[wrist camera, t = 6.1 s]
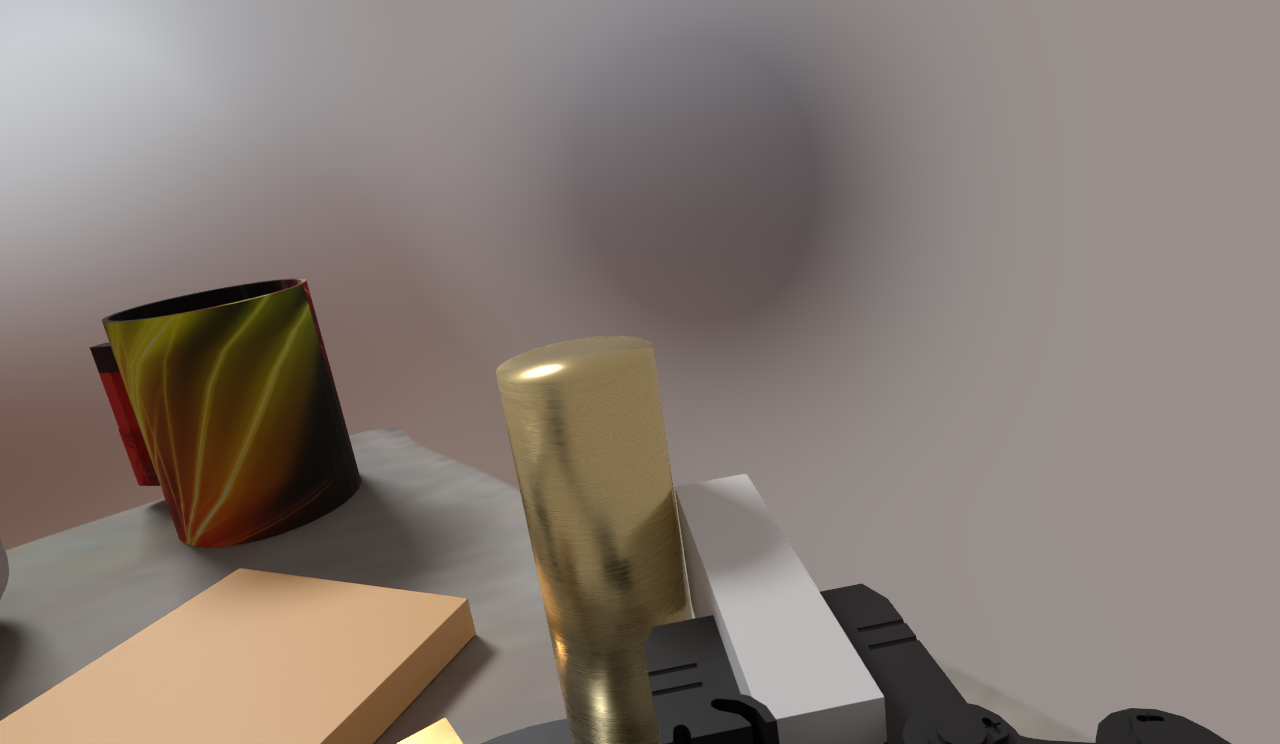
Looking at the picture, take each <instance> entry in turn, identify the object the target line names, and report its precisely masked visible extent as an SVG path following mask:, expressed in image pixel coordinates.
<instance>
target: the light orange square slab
mask: <svg viewBox="0 0 1280 744" xmlns="http://www.w3.org/2000/svg"><path fill="white" fill-rule="evenodd" d="M475 634H476V632H475V627H474V623H473V619H472V615H471V611H470V607H469V602H468V599H467V598H460V597H452V596H445V595H437V594H430V593H422V592H415V591H407V590H400V589H392V588H385V587H377V586H370V585H362V584H355V583H347V582H340V581H332V580H325V579H318V578H310V577H303V576H295V575H288V574H280V573H273V572H265V571H258V570H250V569H243V568H239V569H238V570H236V571H234V572H233V573H231V574H230V575H228V576H227V577H225V578H224V579H222V580H220V581H219V582H217V583H216V584H214V585H213V586H211V587H209V588H208V589H206V590H205V591H203V592H202V593H200V594H198V595H197V596H195V597H194V598H192V599H191V600H189V601H188V602H186V603H184V604H183V605H181V606H180V607H178V608H177V609H175V610H173V611H172V612H170V613H169V614H167V615H166V616H164V617H162V618H161V619H159V620H158V621H156V622H155V623H153V624H152V625H150V626H148V627H147V628H145V629H144V630H142V631H141V632H139V633H137V634H136V635H134V636H133V637H131V638H130V639H128V640H126V641H125V642H123V643H122V644H120V645H119V646H117V647H116V648H114V649H112V650H111V651H109V652H108V653H106V654H105V655H103V656H101V657H100V658H98V659H97V660H95V661H94V662H92V663H90V664H89V665H87V666H86V667H84V668H83V669H81V670H79V671H78V672H76V673H75V674H73V675H72V676H70V677H69V678H67V679H65V680H64V681H62V682H61V683H59V684H58V685H56V686H54V687H53V688H51V689H50V690H48V691H47V692H45V693H43V694H42V695H40V696H39V697H37V698H36V699H34V700H33V701H31V702H29V703H28V704H26V705H25V706H23V707H22V708H20V709H18V710H17V711H15V712H14V713H12V714H11V715H9V716H7V717H6V718H4V719H3V720H1V721H0V744H373V743H374V742H375V741H376V740H377V739H378V738H379V737H380V736H381V735H382V734H383V733H384V732H385V730H386V729H387V728H388V727H389V726H390V725H391V724H392V723H393V722H394V721H395V720H396V719H397V718H398V717H399V715H400V714H401V713H402V712H403V711H404V710H405V709H406V708H407V707H408V706H409V705H410V704H411V703H412V702H413V700H414V699H415V698H416V697H417V696H418V695H419V694H420V693H421V692H422V691H423V690H424V689H425V688H426V687H427V685H428V684H429V683H430V682H431V681H432V680H433V679H434V678H435V677H436V676H437V675H438V674H439V673H440V672H441V670H442V669H443V668H444V667H445V666H446V665H447V664H448V663H449V662H450V661H451V660H452V659H453V658H454V657H455V655H456V654H457V653H458V652H459V651H460V650H461V649H462V648H463V647H464V646H465V645H466V644H467V643H468V642H469V640H470V639H471V638H472V637H473V636H474V635H475Z"/></svg>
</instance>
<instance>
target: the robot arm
mask: <svg viewBox="0 0 1280 744" xmlns="http://www.w3.org/2000/svg"><path fill="white" fill-rule="evenodd" d="M675 492H676V500H677V506H678V513H679V520H680V527H681V534H682V540H683V547H684V554H685V561H686V568H687V575H688V581H689V588H690V595H691V602H692V607H693V610H694V614H695V617H696V618H695V619H690V620H685V621H680V622H675V623H669V624H664V625H659V626H654V627H653V628H652V630H651V633H650V635H649V637H648V640H647V642H646V645H645V647H644V653H645V659H646V665H647V671H648V677H649V683H650V688H651V694H652V700H653V706H654V712H655V718H656V724H657V729H658V735H659V740H660V744H1231V743H1229V742H1228V741H1226V740H1224V739H1223V738H1221V737H1220V736H1218V735H1216V734H1215V733H1213V732H1212V731H1210V730H1209V729H1207V728H1205V727H1203V726H1201V725H1199V724H1197V723H1194V722H1193V721H1190V720H1189V719H1186V718H1185V717H1182V716H1179V715H1175V714H1171V713H1167V712H1164V711H1160V710H1156V709H1136V708H1130V709H1126V710H1122V711H1118V712H1114V713H1111V714H1109V715H1108V716H1107V717H1106V718H1105V719H1104V720H1102V721H1101V722H1100V723H1099V725H1098V730H1097V735H1096V743H1084V742H1066V741H1048V740H1040V739H1033V738H1027V737H1024V736H1020V735H1019V734H1018V733H1017V732H1016V730H1015V729H1014V728H1013V727H1011V726H1010V725H1009V724H1008V723H1007V722H1006V721H1005V720H1004V719H1002V718H1001V717H1000V716H999V715H997V714H995V713H993V712H991V711H989V710H987V709H984V708H982V707H980V706H978V705H973V704H968V703H967V702H966V701H965V699H964V698H963V697H962V696H961V694H960V693H959V692H958V690H957V689H956V688H955V686H954V685H953V684H952V682H951V681H950V680H949V679H948V677H947V676H946V675H945V673H944V672H943V671H942V669H941V668H940V667H939V665H938V664H937V663H936V662H935V660H934V659H933V658H932V656H931V655H930V654H929V653H928V651H927V650H926V648H925V647H924V646H923V645H922V643H921V642H920V641H917V639H916V635H915V634H914V633H913V631H912V630H911V629H910V628H909V626H908V625H907V624H906V623H904V621H903V619H902V617H901V616H900V614H899V613H898V612H897V611H896V609H895V608H894V607H893V605H892V604H891V603H890V601H889V600H888V599H887V598H885V597H884V596H882V595H880V594H879V593H877V592H875V591H874V590H872V589H870V588H868V587H867V586H865V585H863V584H857V585H852V586H847V587H842V588H837V589H832V590H827V591H821V592H819V590H818V589H817V587H816V586H815V584H814V582H813V581H812V579H811V578H810V576H809V574H808V573H807V571H806V570H805V568H804V566H803V565H802V563H801V561H800V560H799V558H798V557H797V555H796V553H795V552H794V550H793V548H792V547H791V545H790V544H789V542H788V540H787V539H786V537H785V536H784V534H783V532H782V531H781V529H780V527H779V526H778V524H777V522H776V521H775V519H774V518H773V516H772V514H771V513H770V511H769V510H768V508H767V506H766V505H765V503H764V501H763V500H762V498H761V497H760V495H759V493H758V492H757V490H756V488H755V487H754V485H753V484H752V482H751V480H750V479H749V477H748V476H747V474H742V475H736V476H731V477H726V478H720V479H715V480H709V481H704V482H698V483H693V484H688V485H682V486H677V487H675Z"/></svg>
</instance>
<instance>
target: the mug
mask: <svg viewBox="0 0 1280 744" xmlns="http://www.w3.org/2000/svg"><path fill="white" fill-rule="evenodd" d="M102 322H103V325H104V328H105V331H106V333H107V336H108V339H109V342H110V343H104V344H100V345H97V346H93V347H90V349H91V352H92V355H93V357H94V360H95V363H96V366H97V368H98V371H99V374H100V377H101V380H102V382H103V385H104V388H105V391H106V393H107V396H108V399H109V402H110V404H111V407H112V410H113V413H114V415H115V418H116V421H117V424H118V426H119V432H120V435H121V437H122V440H123V443H124V446H125V448H126V451H127V454H128V457H129V460H130V462H131V465H132V468H133V471H134V473H135V476H136V479H137V481H138V484H139V485H140V486H161V488H162V491H163V494H164V497H165V500H166V502H167V505H168V508H169V511H170V514H171V516H172V519H173V522H174V525H175V528H176V531H177V533H178V536H179V539H180V540H181V541H182V542H184V543H185V544H188V545H191V546H194V547H205V548H210V547H226V546H233V545H240V544H245V543H249V542H254V541H258V540H262V539H266V538H269V537H272V536H276V535H279V534H282V533H285V532H288V531H290V530H293V529H296V528H298V527H301V526H303V525H305V524H308V523H310V522H312V521H314V520H317V519H319V518H320V517H322V516H324V515H326V514H328V513H330V512H331V511H333V510H335V509H336V508H338V507H339V506H341V505H342V504H344V503H345V502H346V501H347V500H348V499H349V498H351V497H352V496H353V495H354V494H355V492H356V491H357V490H358V488H359V486H360V483H361V479H360V475H359V472H358V468H357V464H356V461H355V457H354V453H353V450H352V446H351V442H350V439H349V435H348V431H347V428H346V424H345V420H344V417H343V413H342V409H341V406H340V402H339V398H338V394H337V391H336V387H335V383H334V380H333V376H332V372H331V369H330V365H329V362H328V358H327V354H326V351H325V347H324V343H323V339H322V336H321V332H320V328H319V325H318V321H317V317H316V314H315V310H314V306H313V303H312V299H311V296H310V292H309V288H308V284H307V281H306V279H281V280H272V281H264V282H257V283H250V284H243V285H238V286H231V287H226V288H220V289H215V290H209V291H205V292H199V293H194V294H189V295H185V296H180V297H176V298H171V299H167V300H162V301H158V302H154V303H150V304H146V305H142V306H139V307H135V308H132V309H128V310H124V311H122V312H118V313H115V314H113V315H110V316H107V317H105V318H104V319H102Z"/></svg>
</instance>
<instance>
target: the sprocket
mask: <svg viewBox="0 0 1280 744" xmlns="http://www.w3.org/2000/svg"><path fill="white" fill-rule="evenodd" d="M496 376H497V381H498V386H499V390H500V395H501V400H502V405H503V409H504V414H505V419H506V424H507V429H508V434H509V439H510V443H511V448H512V453H513V458H514V463H515V468H516V473H517V477H518V482H519V487H520V492H521V497H522V502H523V506H524V511H525V516H526V521H527V526H528V530H529V535H530V540H531V545H532V550H533V555H534V559H535V564H536V569H537V574H538V579H539V584H540V588H541V593H542V598H543V603H544V608H545V613H546V617H547V622H548V627H549V632H550V637H551V642H552V646H553V651H554V656H555V661H556V666H557V671H558V675H559V680H560V685H561V690H562V695H563V700H564V704H565V709H566V714H567V719H564V720H557V721H553V722H549V723H544V724H540V725H535V726H531V727H527V728H524V729H521V730H518V731H514V732H511V733H508V734H505V735H502V736H499V737H496V738H494V739H491V740H489V741H487V742H484V743H482V744H660V740H659V735H658V729H657V724H656V718H655V712H654V706H653V700H652V694H651V688H650V683H649V677H648V671H647V665H646V659H645V653H644V647H645V645H646V642H647V640H648V637H649V635H650V633H651V630H652V628H653V627H654V626H659V625H664V624H669V623H675V622H680V621H685V620H690V619H692V614H691V607H690V600H689V593H688V586H687V579H686V572H685V565H684V558H683V551H682V545H681V537H680V530H679V524H678V517H677V510H676V503H675V496H674V489H673V482H672V475H671V469H670V461H669V454H668V447H667V440H666V433H665V426H664V420H663V412H662V405H661V398H660V392H659V384H658V377H657V370H656V363H655V356H654V349H653V345H652V343H651V342H649V341H647V340H645V339H641V338H636V337H628V336H603V337H591V338H583V339H575V340H570V341H564V342H560V343H555V344H550V345H547V346H543V347H539V348H536V349H533V350H530V351H527V352H524V353H522V354H519V355H517V356H515V357H513V358H510V359H509V360H507V361H505V362H504V363H502V364H501V365H500V366H499V367H498V369H497V370H496ZM397 744H463V743H462V742H461V740H460V739H459V737H458V736H457V734H456V733H455V731H454V730H453V728H452V727H451V725H450V724H449V722H448V721H447V719H446V718H443V719H442V720H440V721H438V722H436V723H434V724H432V725H430V726H429V727H427V728H425V729H423V730H421V731H419V732H417V733H416V734H414V735H412V736H410V737H408V738H406V739H404V740H402V741H401V742H399V743H397Z"/></svg>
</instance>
